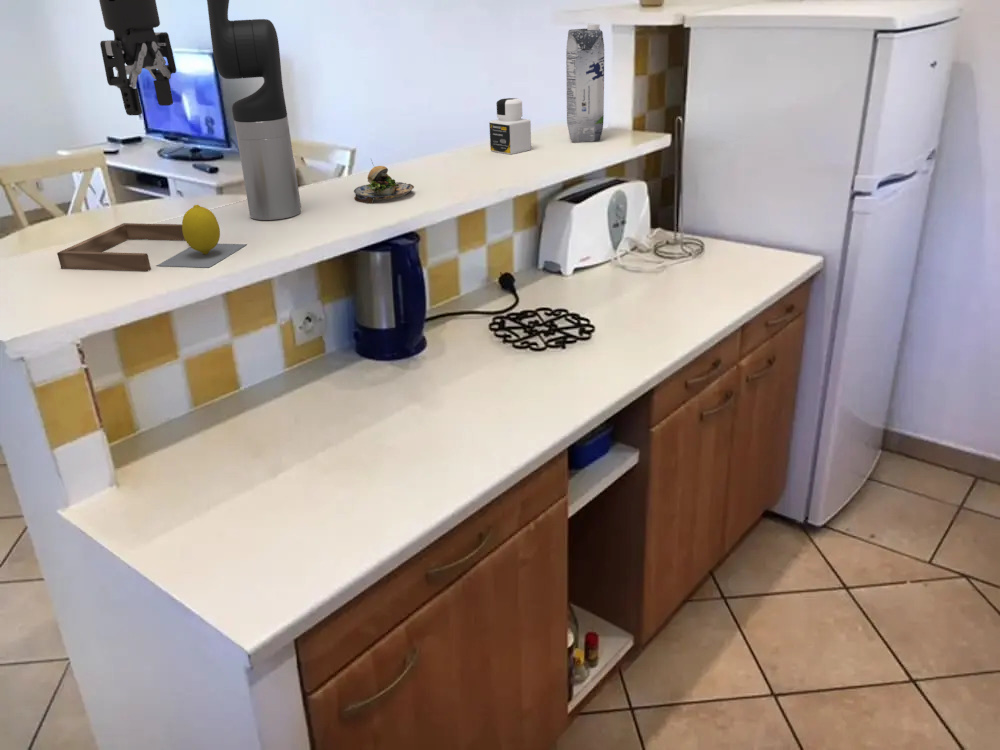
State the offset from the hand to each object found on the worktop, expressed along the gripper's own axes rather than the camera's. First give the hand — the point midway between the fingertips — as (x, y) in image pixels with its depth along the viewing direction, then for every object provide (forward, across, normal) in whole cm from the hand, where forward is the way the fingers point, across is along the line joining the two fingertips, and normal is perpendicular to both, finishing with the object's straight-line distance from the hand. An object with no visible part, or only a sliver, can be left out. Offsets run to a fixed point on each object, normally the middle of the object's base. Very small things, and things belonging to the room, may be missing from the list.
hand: (150, 109), depth 128 cm
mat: (+22, +2, +6) cm, 23 cm away
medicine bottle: (+23, -83, +39) cm, 95 cm away
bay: (+22, +2, -6) cm, 23 cm away
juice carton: (+24, -98, +56) cm, 115 cm away
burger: (+23, -37, +23) cm, 49 cm away
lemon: (+22, +2, +6) cm, 23 cm away
